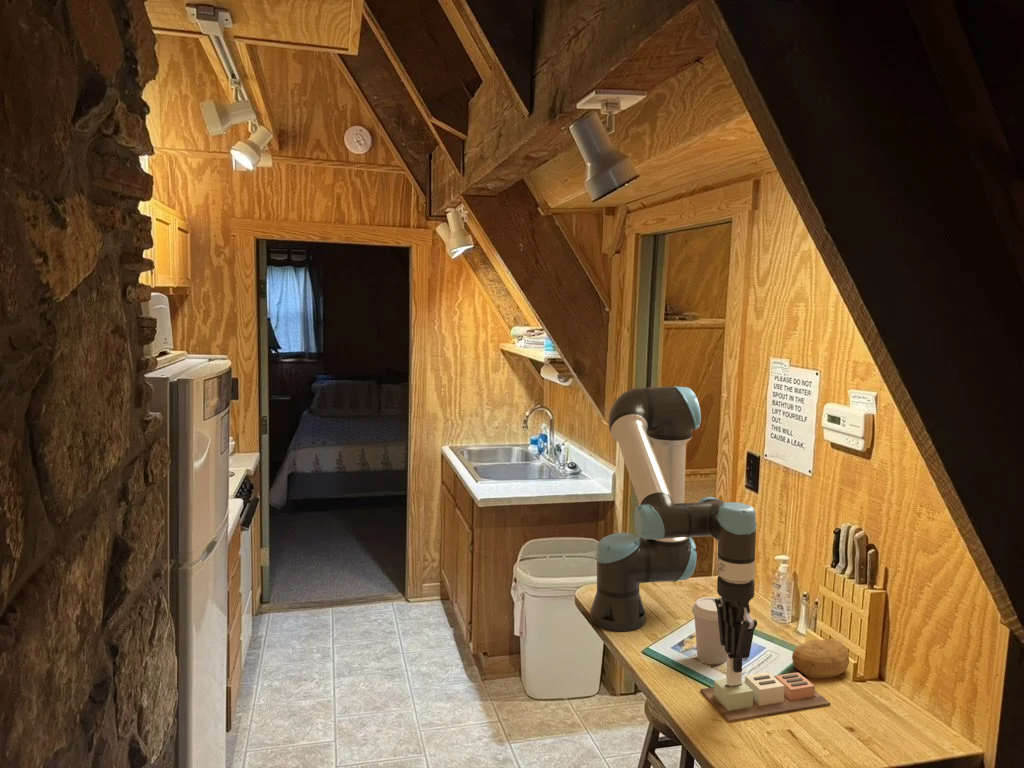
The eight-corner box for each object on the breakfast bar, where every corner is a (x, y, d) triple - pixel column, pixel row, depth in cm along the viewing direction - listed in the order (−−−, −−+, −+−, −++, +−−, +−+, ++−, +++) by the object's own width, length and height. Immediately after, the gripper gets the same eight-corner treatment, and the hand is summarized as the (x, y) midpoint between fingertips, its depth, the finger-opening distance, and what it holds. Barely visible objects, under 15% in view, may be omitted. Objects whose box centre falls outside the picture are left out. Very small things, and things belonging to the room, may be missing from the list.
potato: (779, 671, 168) (780, 639, 167) (828, 661, 172) (829, 629, 171) (808, 692, 159) (809, 658, 158) (859, 681, 163) (860, 648, 162)
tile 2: (744, 692, 157) (745, 674, 156) (768, 689, 158) (768, 670, 157) (759, 707, 151) (760, 688, 150) (783, 703, 152) (784, 684, 152)
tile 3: (774, 692, 158) (775, 674, 158) (797, 688, 160) (798, 670, 159) (790, 707, 153) (791, 688, 152) (814, 703, 154) (814, 684, 154)
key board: (700, 697, 158) (700, 689, 157) (795, 682, 163) (795, 674, 163) (728, 729, 146) (728, 720, 146) (830, 711, 152) (830, 702, 151)
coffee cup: (734, 674, 167) (735, 614, 165) (692, 671, 169) (693, 611, 167) (730, 654, 176) (731, 597, 174) (690, 651, 178) (691, 594, 176)
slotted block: (714, 697, 155) (714, 679, 154) (737, 693, 156) (738, 675, 156) (728, 712, 149) (728, 693, 149) (752, 708, 151) (753, 689, 150)
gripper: (704, 568, 155) (702, 670, 157) (736, 591, 142) (734, 702, 145) (735, 564, 156) (733, 666, 159) (769, 587, 144) (767, 696, 147)
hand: (733, 683), depth 152 cm, fingers closed
